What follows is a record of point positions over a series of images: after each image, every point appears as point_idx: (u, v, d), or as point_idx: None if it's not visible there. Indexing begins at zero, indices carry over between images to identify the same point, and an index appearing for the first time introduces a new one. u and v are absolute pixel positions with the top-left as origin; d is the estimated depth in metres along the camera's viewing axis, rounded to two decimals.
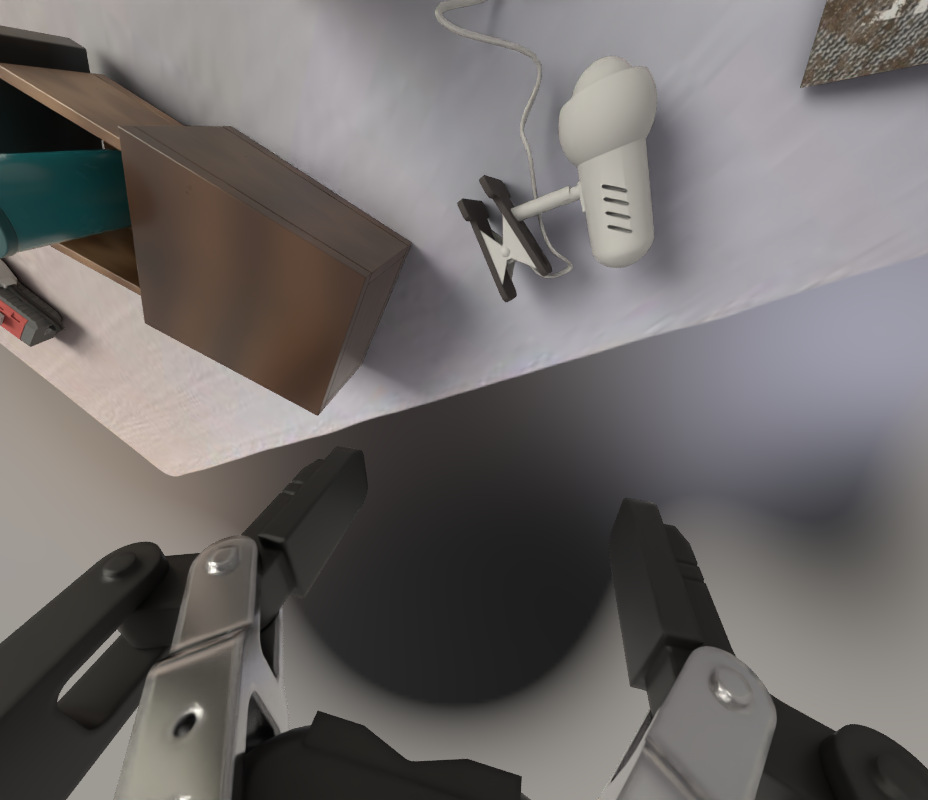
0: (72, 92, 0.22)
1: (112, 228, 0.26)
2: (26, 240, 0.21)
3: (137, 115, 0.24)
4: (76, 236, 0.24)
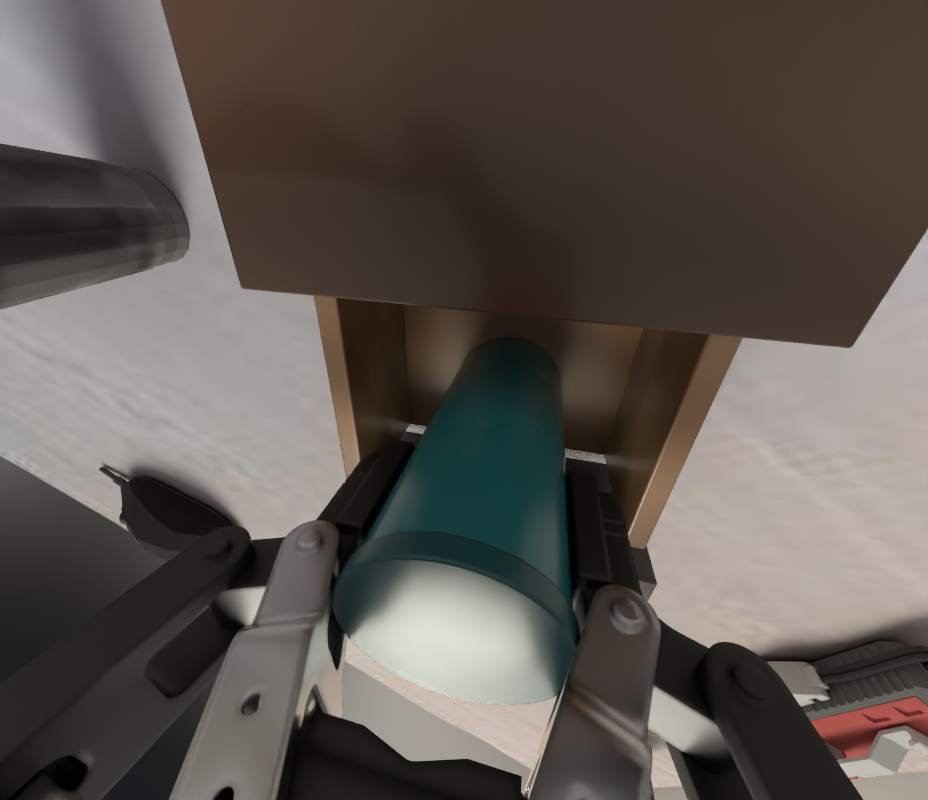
0: None
1: (538, 404, 0.11)
2: (494, 527, 0.07)
3: None
4: (534, 450, 0.09)
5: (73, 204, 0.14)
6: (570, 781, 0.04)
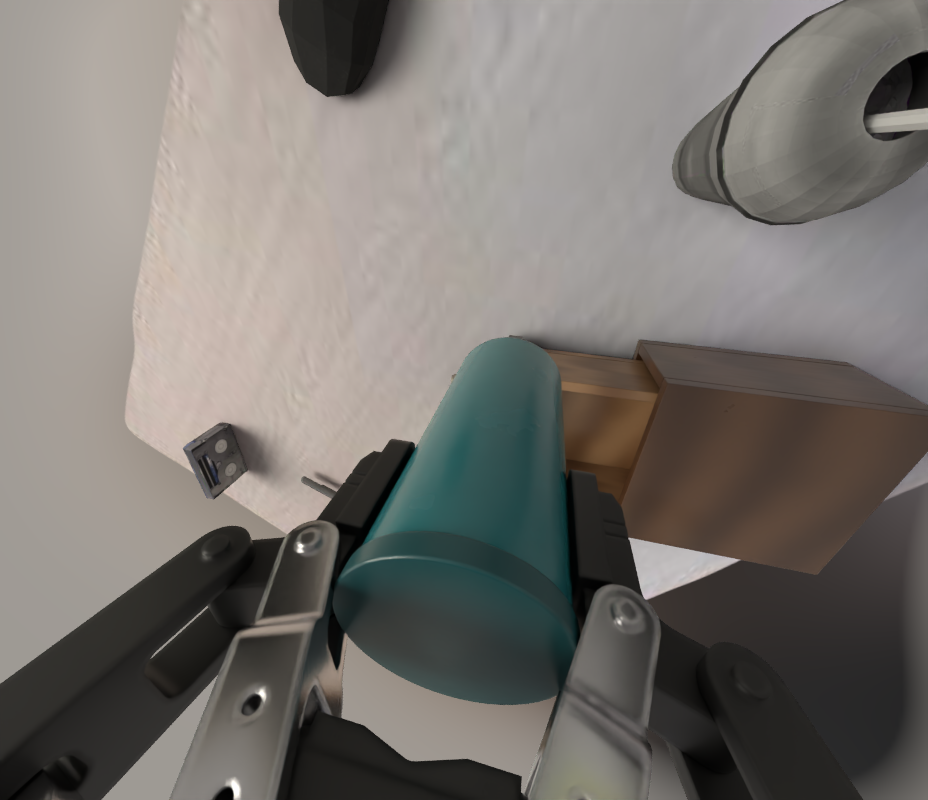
0: (569, 372, 0.27)
1: (538, 404, 0.11)
2: (494, 527, 0.07)
3: (597, 366, 0.28)
4: (534, 450, 0.09)
5: None
6: (570, 781, 0.04)
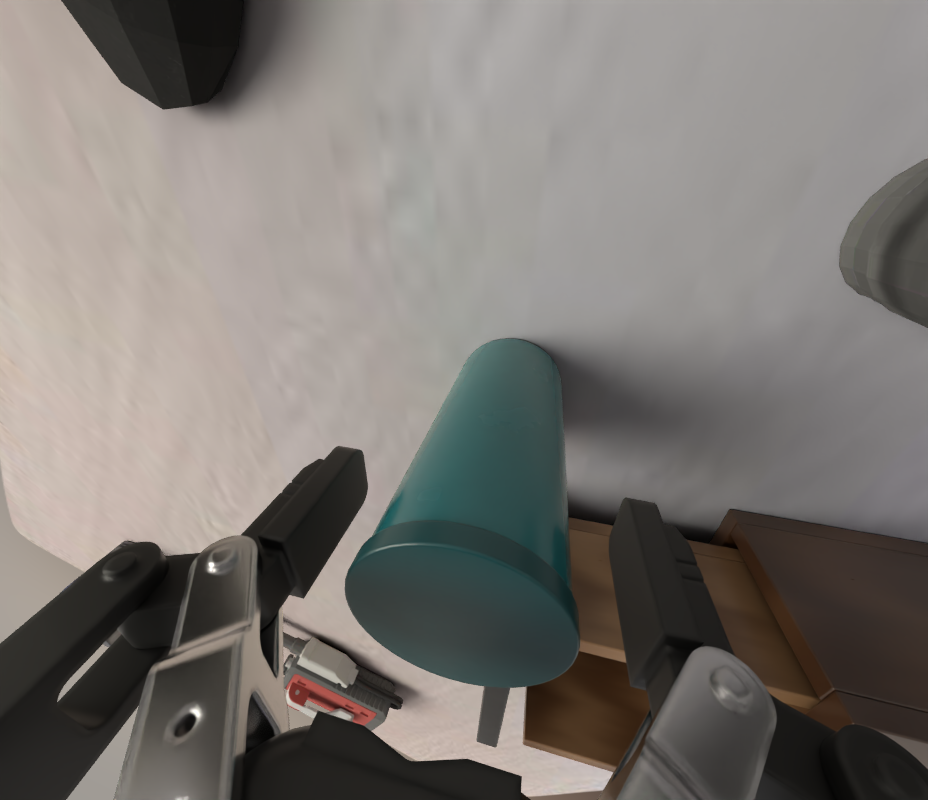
0: None
1: (538, 402, 0.12)
2: (498, 517, 0.07)
3: None
4: (535, 446, 0.10)
5: None
6: None
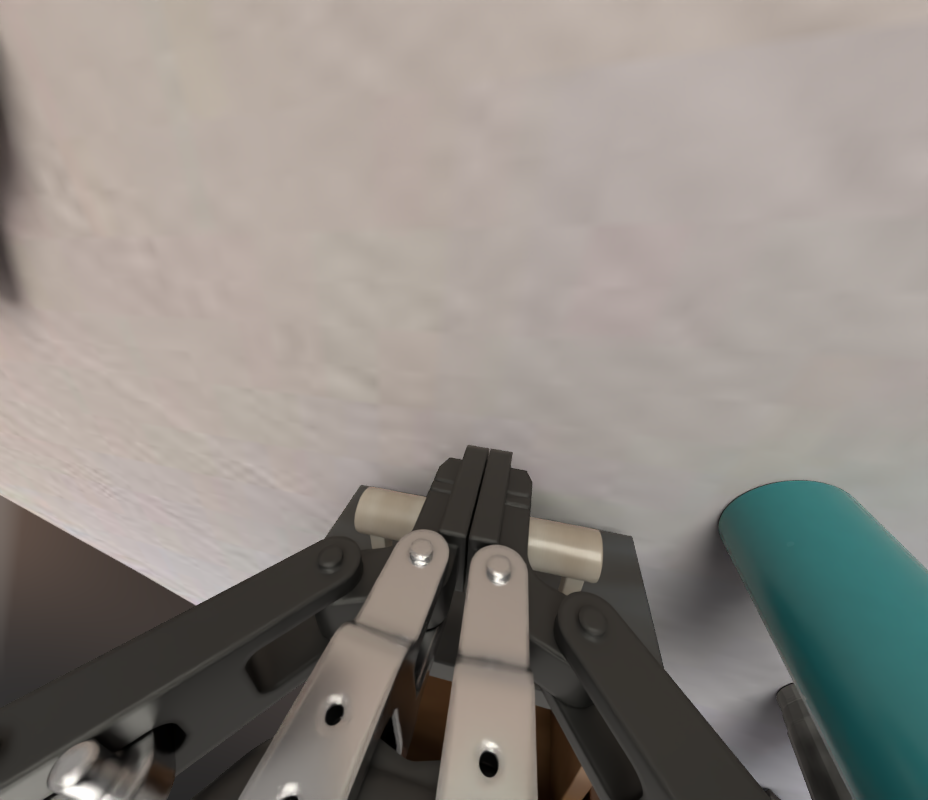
0: None
1: None
2: None
3: None
4: None
5: None
6: (472, 741, 0.05)
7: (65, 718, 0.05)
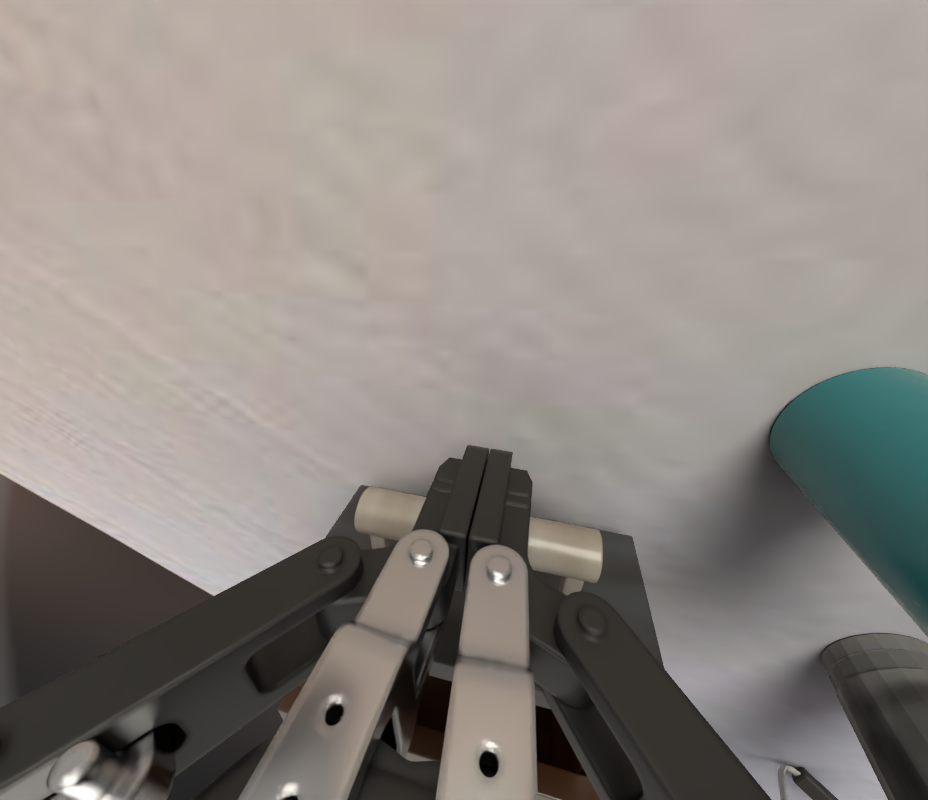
0: None
1: None
2: None
3: None
4: None
5: (888, 788, 0.14)
6: (472, 741, 0.05)
7: (65, 718, 0.05)
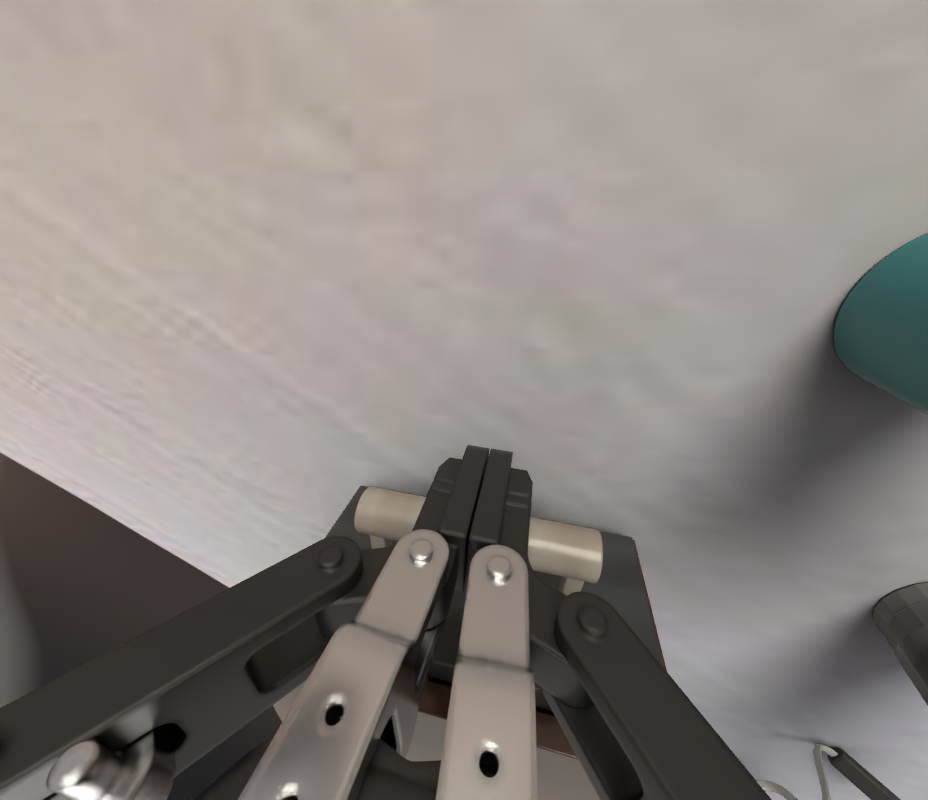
0: None
1: None
2: None
3: None
4: None
5: None
6: (472, 741, 0.05)
7: (65, 718, 0.05)
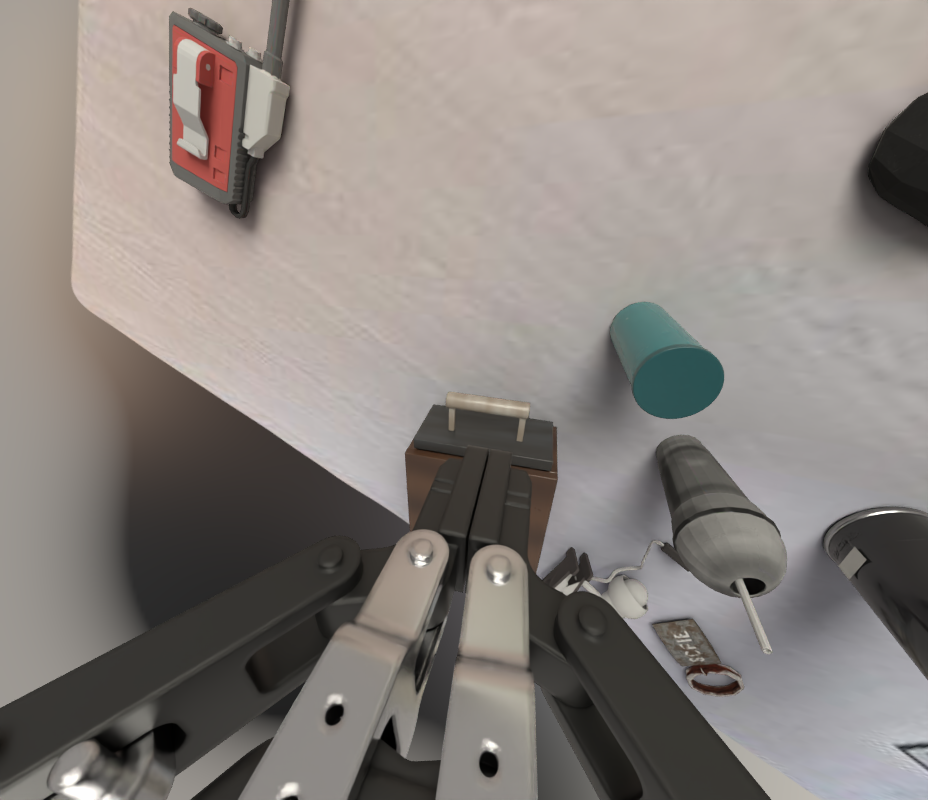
0: None
1: None
2: None
3: None
4: None
5: (663, 485, 0.34)
6: (472, 742, 0.05)
7: (65, 718, 0.05)
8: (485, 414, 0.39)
